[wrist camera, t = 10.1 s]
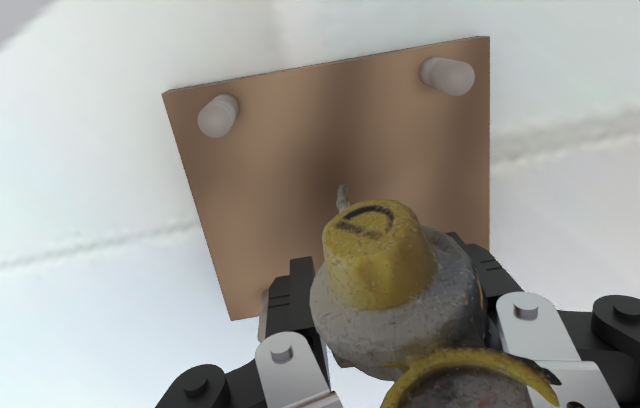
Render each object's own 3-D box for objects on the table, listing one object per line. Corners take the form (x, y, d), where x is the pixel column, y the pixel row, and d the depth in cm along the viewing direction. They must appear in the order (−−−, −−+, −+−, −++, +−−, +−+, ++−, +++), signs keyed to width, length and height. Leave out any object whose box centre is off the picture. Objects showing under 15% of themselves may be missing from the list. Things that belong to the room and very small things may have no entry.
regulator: (275, 142, 18) (277, 491, 4) (359, 105, 18) (654, 347, 4) (338, 276, 21) (462, 746, 7) (411, 246, 21) (688, 671, 7)
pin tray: (477, 36, 19) (527, 38, 15) (479, 264, 23) (517, 310, 19) (169, 90, 19) (137, 106, 15) (233, 307, 23) (222, 362, 19)
